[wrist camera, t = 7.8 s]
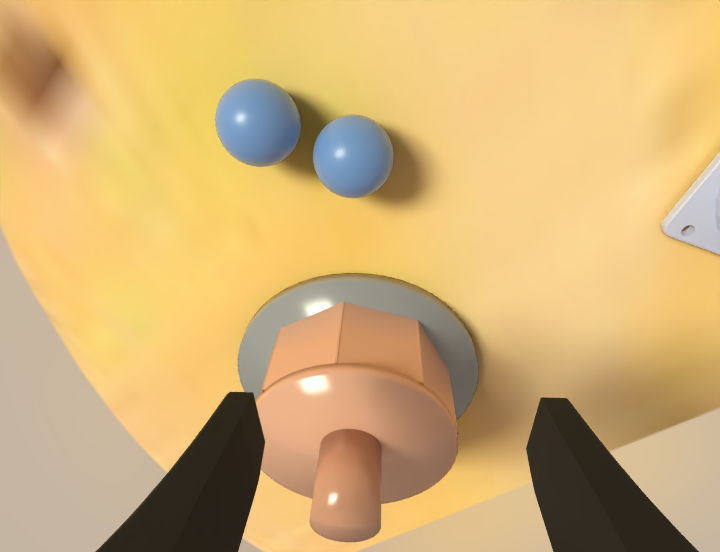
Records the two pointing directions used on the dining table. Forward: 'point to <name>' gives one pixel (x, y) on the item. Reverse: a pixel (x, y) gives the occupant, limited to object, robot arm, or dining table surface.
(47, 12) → the dining table surface
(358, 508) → the lid with knob
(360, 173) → the blue marble
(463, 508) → the dining table surface
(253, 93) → the blue marble
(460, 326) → the slate plate
